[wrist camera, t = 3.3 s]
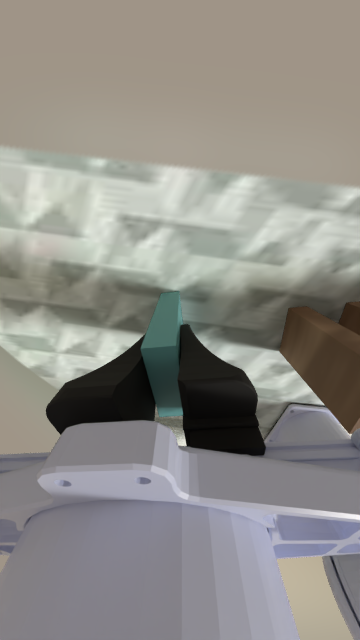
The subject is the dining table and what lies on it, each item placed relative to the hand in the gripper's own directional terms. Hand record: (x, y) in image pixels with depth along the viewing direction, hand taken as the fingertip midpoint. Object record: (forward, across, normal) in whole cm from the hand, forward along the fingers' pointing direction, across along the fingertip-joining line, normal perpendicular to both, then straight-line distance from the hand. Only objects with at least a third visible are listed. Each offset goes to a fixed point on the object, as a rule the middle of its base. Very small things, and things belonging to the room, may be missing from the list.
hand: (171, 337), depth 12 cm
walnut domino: (+3, -11, +3) cm, 12 cm away
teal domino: (+3, 0, 0) cm, 4 cm away
